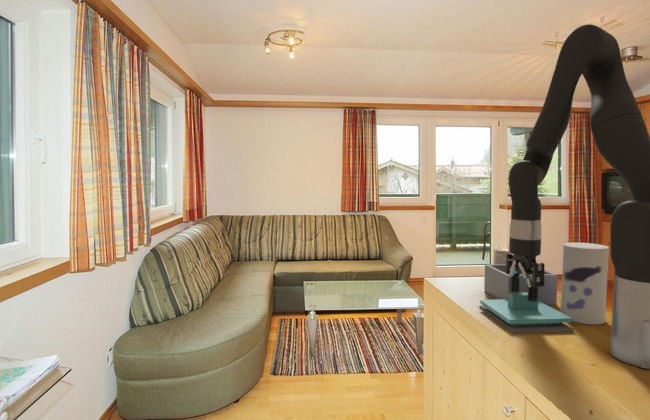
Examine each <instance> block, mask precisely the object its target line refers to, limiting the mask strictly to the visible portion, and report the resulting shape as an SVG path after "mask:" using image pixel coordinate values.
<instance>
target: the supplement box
mask: <svg viewBox="0 0 650 420" xmlns="http://www.w3.org/2000/svg"><path fill="white" fill-rule="evenodd" d="M507 254H510V252H509V246H501V245H500V246H499V245H498V246H495V245H494V246H493V262H492V263H493V264H492V265H495V264H506V258H507Z"/></svg>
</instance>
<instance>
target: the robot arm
mask: <svg viewBox="0 0 650 420" xmlns="http://www.w3.org/2000/svg"><path fill="white" fill-rule="evenodd" d="M553 71H554V72H553V74H552V77H551V81H550V84H549V87H548V90H547V94H546V97H545V100H544V103H543V104H542V107H541V110H540V112H539V115H538V116H537V119H536V121H535V124H534V126H533V128H532V130H531V132H530V134H529V136H528V139H527V140H526V141H527V142H526V151H525V154H524V157H523V159H522V160H519V161H516V162H515V163H513V165H512V166H511V168H510V170H509V174H508V187H509V192H510V193H509V194H510V199H511V200H510V201H511V207H510V209H511V210H510V211H511V212H510V214H511V215H510V223H509V235H508V236H509V241H508V249H509V252H510V254H507V258H506V274H509V277H510V278H511V280H510V291H512V292H518V291H519V280H520V279H519V277H520V275H521V274H522V275H523V277H524V279H526V280H527V283H528V286H529V287H528V300H529V301H531V302H532V301H537V298H538V287H543V286H544V270H545V263H544V262H537V257H538V256H540V255H541V252H542V230H543V229H542V221H541V220H542V203H541V202H542V201H541V199H540V198H539V197H538V196H539V189H538V188H539V185H540V184H541V183H542V182H543V181H544V179H545V178H546V176H547V175H548V172H549V169H550V168H551V164H552V160H553V157H554V154H555V152H556V150H557V148H558V146H559V145H560V143H561V141H562V138H563V137H564V134H565V132H566V131H567V129H568V125H569V124H570V123H569V122H570V118H571V114H572V107H573V105H572V104H573V99H574V95H575V91H576V87H577V85H578V82H579V80H580V78H581V76H582V77H583V78H584V80H585V82H586V85H587V87H588V90H589V92H590V97H591V98H590V99H591V102H590V104H591V105H590V110H589V127H590V130H591V134H592V137H593V140H594V143H595V146H596V149H597V151H598V153H599V154H600V155H601V157H602V158H603V159H604V160H605V161H606V163H608V165H609V166H610V167H611V168H612V169H613V170H615V172H616V173H617V174H618V175H619V176H620V177H621V178H622V179H623V180H624V182H625V183H626V185H627V186H628V189H629V190H630V191H629V192H630V193H631V196H632V199H633V200H626V201H623V202H621V203H620V204H618V205H617V206H616V208H614V210H613V212H612V215H611V217H610V218H611V219H610V226H609V227H610V228H609V231H610V232H609V235H610V237H609V238H610V239H609V240H610V241H609V242H610V245H609V246H610V259H611V262H612V265H613V268H614V273H613V274H614V276H613V278H614V279H613V292H612V293H613V295H612V313H611V329H610V351H609V353H610V354H611V356H612V357H614V358H616V359H617V360H618V361H621V362H624V363H625V364H629V365H633V366H636V367H638V366H639V368H640V367H641V368H640V369H642V368H644V370H645V368H646V369H648V370H649V369H650V134H649V130H648V127H647V124H646V122H645V120H644V116H643V114H642V112H641V110H640V108H639V105H638V102H637V100H636V97H635V95H634V93H633V91H632V88H631V86H630V85H629V82H628V80H627V76H626V73H625V68H624V63H623V59H622V55H621V49H620V46H619V42H618V41H617V38H616V37H614V36H613V34H611V33H609V32H608V31H606V30H605V29H602V28H601V27H599V26H597V25H596V24H591V23H589V24H583V25H580V26H577V27H576V28H575V29H573V30H572V31H571V32H570V33H569V34H568V35H567V37H566V38H565V40H564V42H563V43H562V45H561V48H560V51H559V53H558V57H557V61H556V64H555V67H554V70H553ZM510 266H511V268H510ZM531 274H532V275H531ZM538 277H540V282H539V280H538ZM531 279H532V282H531Z"/></svg>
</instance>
